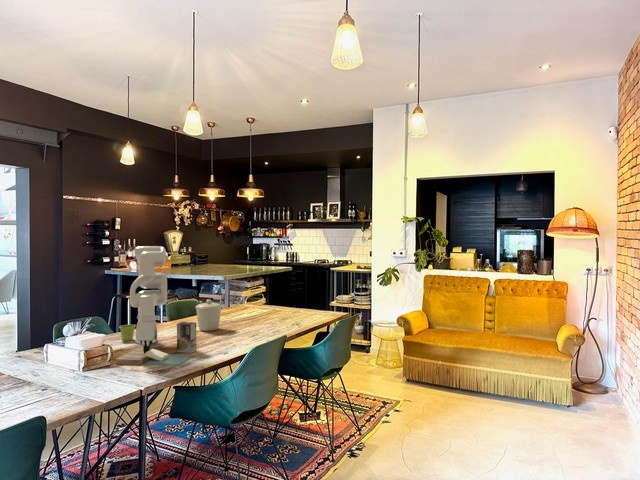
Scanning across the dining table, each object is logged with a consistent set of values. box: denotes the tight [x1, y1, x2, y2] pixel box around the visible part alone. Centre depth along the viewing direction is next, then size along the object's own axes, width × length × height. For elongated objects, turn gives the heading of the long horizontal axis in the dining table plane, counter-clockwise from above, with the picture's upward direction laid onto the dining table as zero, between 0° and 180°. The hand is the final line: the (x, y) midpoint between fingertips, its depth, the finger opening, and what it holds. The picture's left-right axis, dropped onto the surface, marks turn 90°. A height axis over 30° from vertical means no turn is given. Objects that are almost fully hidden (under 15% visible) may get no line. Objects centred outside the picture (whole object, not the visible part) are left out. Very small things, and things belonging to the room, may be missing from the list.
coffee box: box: [176, 321, 197, 354], centre depth 248 cm, size 9×6×16 cm
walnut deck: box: [115, 348, 161, 366], centre depth 232 cm, size 20×14×2 cm
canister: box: [195, 299, 223, 332], centre depth 305 cm, size 18×18×21 cm
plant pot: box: [118, 324, 137, 342], centre depth 274 cm, size 9×9×9 cm
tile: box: [145, 348, 169, 361], centre depth 231 cm, size 7×9×2 cm
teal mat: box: [144, 353, 193, 367], centre depth 231 cm, size 18×18×1 cm
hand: (146, 352), depth 232 cm, fingers closed
